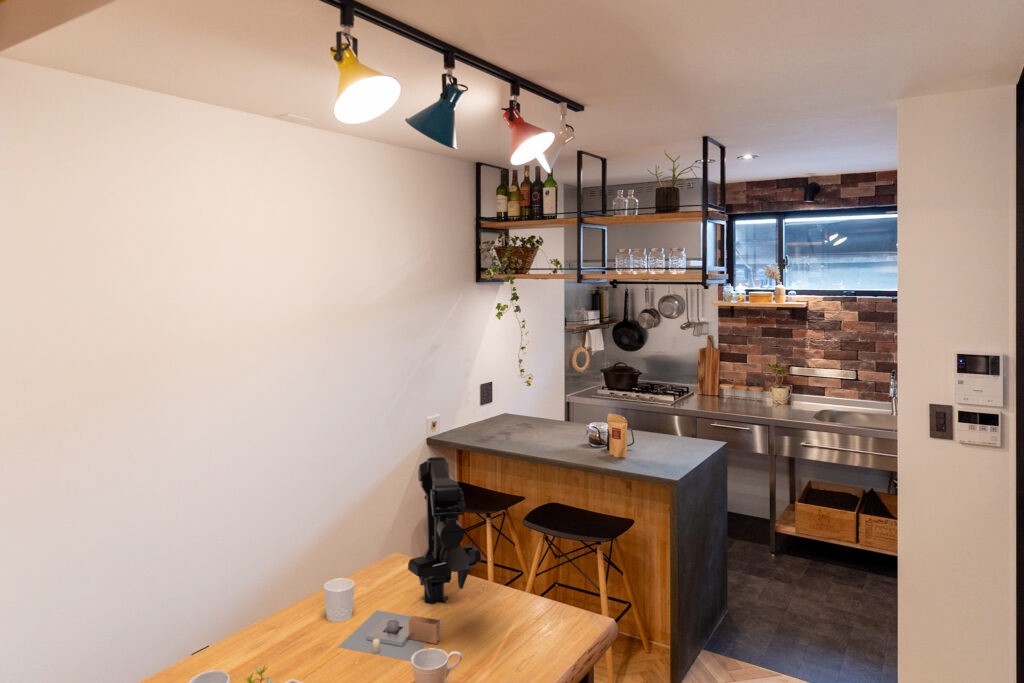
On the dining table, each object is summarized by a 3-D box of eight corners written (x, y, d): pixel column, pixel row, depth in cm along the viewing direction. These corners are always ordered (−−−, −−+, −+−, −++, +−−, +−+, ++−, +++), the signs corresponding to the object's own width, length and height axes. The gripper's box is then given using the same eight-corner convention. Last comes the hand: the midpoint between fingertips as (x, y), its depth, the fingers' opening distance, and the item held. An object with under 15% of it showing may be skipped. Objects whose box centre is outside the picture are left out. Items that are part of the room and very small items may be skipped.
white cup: (346, 629, 180) (346, 592, 179) (319, 625, 182) (318, 589, 181) (359, 614, 188) (359, 579, 187) (332, 611, 189) (332, 576, 189)
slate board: (376, 614, 188) (376, 599, 188) (443, 626, 183) (444, 611, 182) (338, 651, 169) (337, 635, 169) (411, 666, 163) (412, 649, 163)
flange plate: (366, 639, 172) (366, 620, 172) (384, 620, 182) (384, 602, 181) (429, 651, 167) (430, 632, 167) (445, 631, 177) (445, 613, 176)
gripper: (429, 550, 162) (428, 614, 163) (493, 535, 173) (493, 595, 174) (407, 536, 171) (407, 597, 172) (470, 523, 182) (469, 580, 183)
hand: (445, 592), depth 175 cm, fingers open, 9 cm apart
